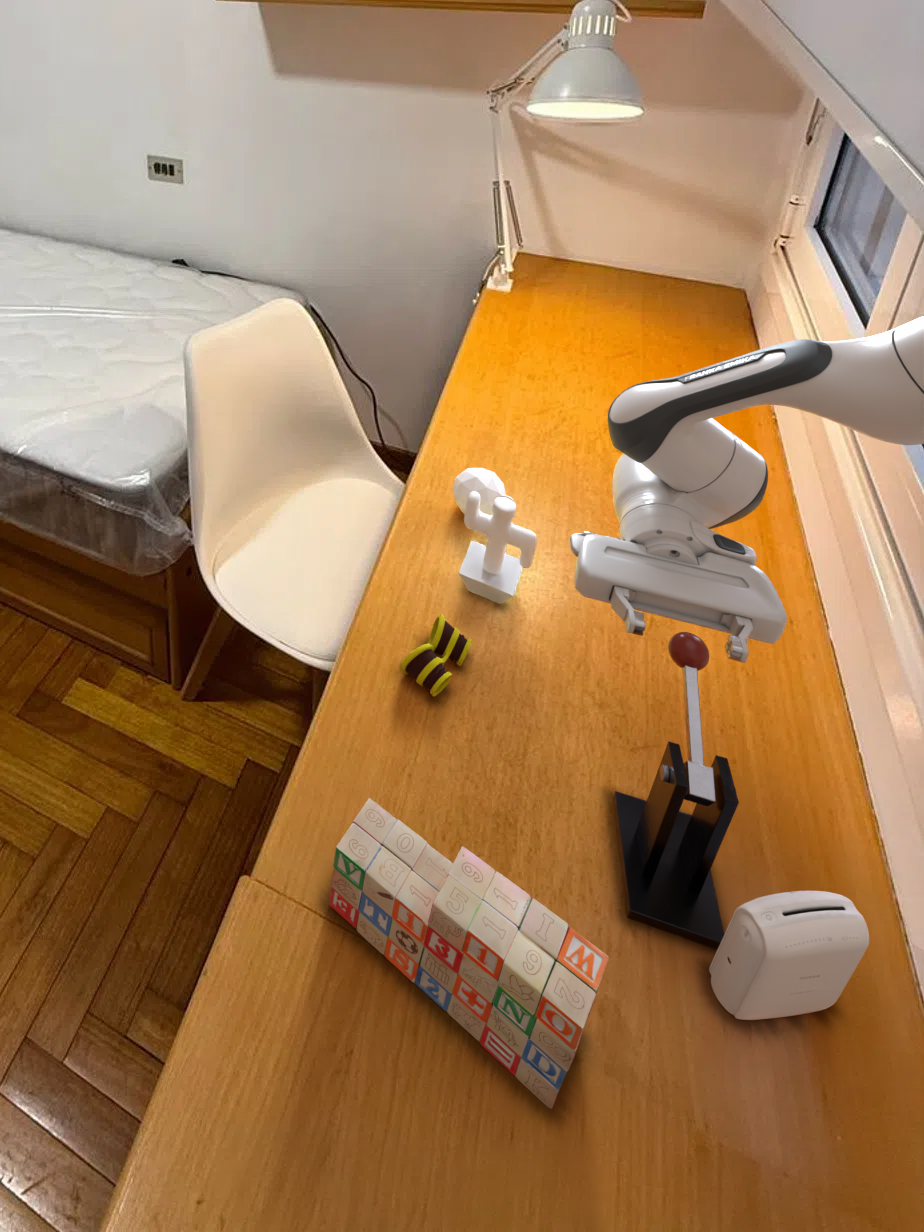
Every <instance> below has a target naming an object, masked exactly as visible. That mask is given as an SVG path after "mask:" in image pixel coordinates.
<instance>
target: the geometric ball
mask: <svg viewBox="0 0 924 1232" xmlns="http://www.w3.org/2000/svg"><path fill="white" fill-rule="evenodd" d="M473 491H475V492H478V493H479V494H480V497H481V499H480V505H479V510H480V511H481V512H482V513H485V514H487V515H493V511H492V508H493V503H494V500H495V498H497V497H499V496H500V495H507V494H506V489H505V484H504V482H503V481H502V480H501V478H500V477H499V476H498V475H497V474H496V472H495V471H492V470H488V469H487V468H483V467H467V468H466V469H464V470H463V471H462V472H460V473H459V474H458V475H457V476H456V477H455V479H454V483H453V486H452V496H453V500H454V503H455V505H456V506H457V507H458V508H459V510H460V511H461V512H462V513H463V516H464V515H465V509H466V504H467V499H468V496H469V494H470V493H471V492H473Z"/></svg>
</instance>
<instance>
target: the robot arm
mask: <svg viewBox="0 0 924 1232" xmlns="http://www.w3.org/2000/svg"><path fill="white" fill-rule="evenodd" d="M759 406H779V407H780V406H781V407H786V408H791V409H796V410H798V411H799V410H800V411H803V412H807V413H809V414H812V415H815V416H818V417H821V418H823V419H826V420H829V421H831V422H833V423H836V424H838V425H840V426H843V427H845V428H847V429H850V430H852V431H854V432H856V433H859V434H861V435H864V436H866V437H868V438H871V439H875V440H878V441H882V442H885V443H890V444H896V445H901V446H918V445H924V315H923V316H920V317H918V318H916V319H913V320H911V321H909V322H906V323H904V324H901V325H899V326H896V327H895V328H892V329H890V330H888V331H887V330H886V331H885V332H882V333H878V334H875V335H871V336H867V337H859V338H854V339H847V340H835V341H833V340H832V341H821V340H815V339H807V338H806V339H804V338H803V339H794V340H789V341H785V342H781V343H777V344H774V345H770V346H767V347H764V348H760V349H758V350H754V351H751V352H748V353H745V354H742V355H739V356H735V357H733V358H732V357H731V358H729V359H725V360H723V361H720V362H717V363H714V364H711V365H708V366H704V367H701V368H698V369H695V370H692V371H689V372H685V373H683V374H680V375H676V376H671V377H666V378H659V379H653V380H647V381H643V382H639V383H635V384H633V385H631V386H629V387H627V388H626V389H624V390H623V391H621V392H620V393H619V394H618V395H617V396H616V397H615V398H614V399H613V400H612V402H611V404H610V406H609V407H608V410H607V428H608V434H609V438H610V441H611V443H612V447H614V448H615V449H616V450H617V451H619V452H621V453H622V454H621V456H619V458H618V460H617V461H616V464H615V466H614V469H613V473H612V480H611V481H612V482H611V491H612V500H613V508H614V512H615V515H616V518H617V520H618V521H619V523H618V534H619V537H614V536H610V535H603V534H598V533H596V532H593V531H588V530H583V531H582V532H576V533H572V534H571V536H570V537H569V546H570V550H571V553H572V554H573V555H574V556H575V557H576V561H575V567H574V588H575V590H576V591H577V592H578V593H579V594H580V595H582V597H584V598H588V599H592V600H596V601H599V602H604V603H607V604H610V606H611V609H612V610H613V611H614V612H615V613H616V615H617V616H618V617H619V618H620V619H621V620H622V621H623V622H624V626H625V632H626V633H627V634H632V635H636V636H640V637H644V631H645V630H646V621H645V614H644V613H647V614H651V615H655V616H659V617H663V618H666V619H671V620H675V621H679V622H683V623H687V624H691V625H694V626H699V627H702V628H706V629H710V630H715V631H719V632H722V633H726V634H729V635H728V637H727V641H726V643H725V645H724V650H725V653H726V657H727V659H729V660H732V661H737V662H740V663H743V664H746V662H747V660H748V657H749V647H748V643H749V640H754V641H757V642H762V643H766V644H769V645H773V644H775V643H776V642H778V641H779V640H780V639H781V638H782V636H783V634H784V632H785V629H786V625H787V621H788V616H787V612H786V609H785V606H784V604H783V602H782V599H781V597H780V595H779V594H778V591H777V589H776V588H775V586H774V584H773V581H771V579H770V578H769V576H768V575H767V573H765V572H764V571H763V570H762V569H760V568H759V567H757V566H756V565H757V560H758V557H757V553H756V551H755V550H754V548H752V547H750V546H748V545H746V544H745V543H742V542H739V541H736V540H734V539H732V538H729V537H727V536H726V535H723V534H721V533H719V532H716V531H715V530H713V529H716V528H720V527H722V526H723V527H724V526H725V525H729V524H732V523H735V522H737V521H739V520H741V519H743V518H745V517H747V516H749V515H750V514H751V513H752V512H754V511H755V510H757V508H758V507H759V506H760V505H761V503H762V502H763V499H764V497H765V495H766V491H767V488H768V484H769V482H768V481H769V469H768V465H767V461H766V460H765V457H763V456H762V454H760V453H758V452H757V451H756V450H755V449H754V448H753V447H751V446H750V445H748V443H746V442H745V441H744V440H742V439H741V438H740V437H739V436H737V435H736V434H735V433H733V432H732V431H731V430H729V429H728V428H726V427H724V425H722V424H720V423H719V422H718V421H717V420H716V419H714V418H718V417H722V416H724V415H725V416H726V415H728V414H732V413H736V412H739V411H742V410H746V409H750V408H754V407H759Z"/></svg>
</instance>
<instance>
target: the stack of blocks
mask: <svg viewBox="0 0 924 1232" xmlns="http://www.w3.org/2000/svg"><path fill="white" fill-rule="evenodd" d="M332 865H333V870H332V877H331V881H330V882H331V883H330V886H331V887H330V892H329V897H328V906H329V907H331V909H333V910H334V911H335V912H336V913H337V914H339V916H341V917H342V918H343V919H344V920H345V921H346V922H348V923H349V925H351V926H352V927H353V928H355V929H356V931H357V933H358V934H359V935H360V936H361V937H362V938H363V939H365V940H366V941H367V942H368V943H369V944H370V945H371V946H373V947H374V948H375V949H376V950H377V951H378V952H379V953H380V954H381V955H383V956H384V957H385V959H386V960H388V961H389V962H390V964H392V965H393V966H394V967H395V968H396V969H397V970H398V971H399V972H401V973H402V975H404V976H405V977H406V978H407V979H408V980H409V981H410V982H412V983H413V984H415V985H416V986H417V987H418V988H419V989H420V990H421V991H422V992H423V993H424V994H425V995H427V996H428V997H429V998H430V999H431V1000H432V1001H433V1002H434V1003H436V1004H437V1005H438V1007H440V1008H441V1009H442V1010H443V1011H445V1012H446V1013H447V1014H448V1015H449V1017H451V1018H452V1019H453V1020H454V1021H455V1022H457V1024H459V1025H460V1026H461V1027H462V1028H463V1029H464V1030H466V1031H467V1032H468V1034H470V1035H471V1036H472V1037H473V1038H474V1039H475V1040H476V1041H478V1043H479V1045H481V1047H483V1048H484V1050H486V1051H487V1052H488V1053H489V1054H490V1055H491V1056H492V1057H493V1058H494V1059H495V1060H496V1061H497V1062H499V1063H500V1064H501V1065H502V1066H503V1067H504V1068H505V1069H506V1070H507V1071H508V1072H509V1073H511V1074H512V1075H513V1076H514V1077H515V1078H516V1079H517V1080H518V1082H520V1083H521V1084H522V1085H523V1086H524V1087H525V1088H526V1089H528V1090H529V1092H531V1093H532V1094H533V1095H534V1096H535V1097H536V1098H537V1099H538V1100H539V1101H540V1102H542V1104H544V1105H545V1107H547V1108H549V1109H551V1110H552V1109H553V1108H554V1105H555V1102H556V1100H557V1098H558V1094H559V1092H560V1089H561V1087H562V1084H563V1083H564V1080H565V1078H566V1076H567V1073H568V1071H569V1070H570V1068H571V1065H572V1063H573V1061H574V1059H575V1055H576V1053H577V1051H578V1047H579V1044H580V1042H581V1039H582V1036H583V1033H584V1030H585V1028H586V1026H587V1022H588V1020H589V1017H590V1014H591V1011H592V1010H593V1009H592V1008H593V1006H594V1003H595V999H596V996H597V993H598V991H599V987H600V984H601V981H602V978H603V976H604V973H605V970H606V968H607V964H608V962H609V955H607V954H606V953H605V952H603V950H601V949H599V948H598V947H597V946H596V945H594V944H593V943H591V942H590V941H589V940H587V939H586V938H585V937H584V936H582V934H580V933H578V932H577V931H575V929H573V928H572V927H570V926H569V924H568V922H566V921H565V920H564V919H562V918H561V917H560V916H558V915H557V914H556V913H554V912H553V911H552V910H550V909H549V908H548V907H546V906H545V905H543V904H542V903H541V902H539V901H538V900H537V899H536V898H532V897H531V895H530V893H528V892H526V891H525V890H524V889H523V888H521V887H520V886H518V885H517V884H515V882H513V881H512V880H510V879H509V878H508V877H506V876H505V875H503V873H501V872H500V871H496V870H495V869H494V868H493V867H492V866H491V865H490V864H488V863H487V862H485V861H484V860H483V859H481V858H480V857H479V856H478V855H476V854H474V852H472V851H470V850H469V849H467V848H466V847H465V846H464V845H462V846H461V847H460V850H459V851H458V853H457V855H456V857H455V859H454V860H453V862H452V861H451V859H449V858H447V857H446V856H445V855H444V854H442V853H441V852H439V851H438V850H437V849H436V848H435V847H433V846H432V845H431V844H429V843H428V841H427V840H425V838H423V837H422V836H421V835H419V834H418V833H417V832H415V831H414V830H413V829H411V828H410V827H409V826H408V825H407V824H405V823H404V822H402V821H401V820H400V819H397V818H396V817H394V815H392V814H391V813H390V812H388V811H387V810H386V809H385V808H383V806H381V805H379V804H378V803H377V802H376V801H375V800H373V799H372V798H370V797H368V799H367V800H366V802H365V803H364V805H363V806H362V807H361V809H360V810H359V812H358V813H357V814H356V816H355V818H354V819H353V821H352V823H351V825H350V826H349V827H348V829H347V830H346V832H345V833H344V835H343V836H342V838H341V839H340V841H339V842H338V844H337V845H336V846H335V851H334V859H333V864H332Z"/></svg>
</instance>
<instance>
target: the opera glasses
mask: <svg viewBox="0 0 924 1232" xmlns="http://www.w3.org/2000/svg"><path fill="white" fill-rule="evenodd" d="M472 643H473V640H472V638H469V637H468V638H466V637H465V635H464V634H461V631H460V630H459V629H458V628H457V627H456V626H455V627H454V626H452V624H450V623H449V622H448V621H446V616H445V615H444V614H441V613H440V614H438V615H437V616H436V618H435V620H434V622H433V624H432V627H431V631H430V635H429V639H428V642H427V643H424V644H421V645H419V646H418V647H416V648H414V649H413V650H412V651H411V652H409V653H408V654H407V655H406V656H405V657H404V658H403V660H402V661H401V663H400V665H399V670H400V672H401V673H402V674H403V675H409V676H410V677H412V678H413V679H414V680H416V681H415V682H416V683H417V684H418V685H419V686H421V687H424V689H425V690H429V693H430V695H431V696H432V697H433V698H435V697H436V696H437V695H439V694H440V693H441V692H442V691H443V690H444V689H445V688H446V687H447V686H448V684H450V682H451V680H452V679H453V674H452V673H451V671H447V668H446V666H444V665H445V664H446V662H447V661H448V660H450V661H451V662H456V665H457V666H459V667H461V666H462V665H463V663H464V661H465V659H466V657H467V655H468V653H469V650H470V648H471V645H472ZM437 655H438V656H437Z"/></svg>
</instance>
